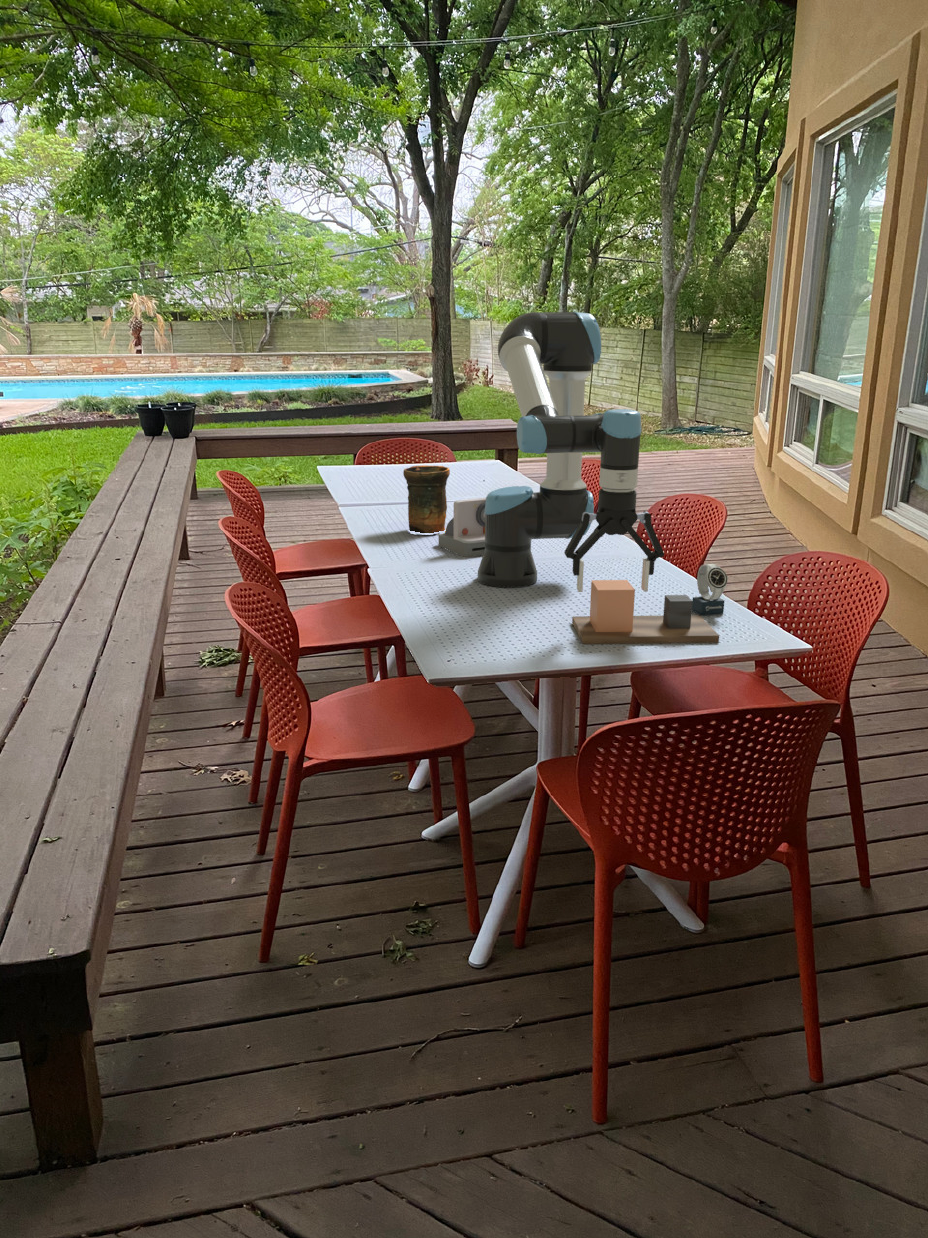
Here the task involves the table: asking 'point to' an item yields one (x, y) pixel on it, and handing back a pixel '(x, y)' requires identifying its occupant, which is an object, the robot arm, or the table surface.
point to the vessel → (426, 497)
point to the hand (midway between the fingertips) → (612, 590)
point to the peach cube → (612, 605)
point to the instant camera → (466, 528)
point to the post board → (654, 627)
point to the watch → (716, 582)
